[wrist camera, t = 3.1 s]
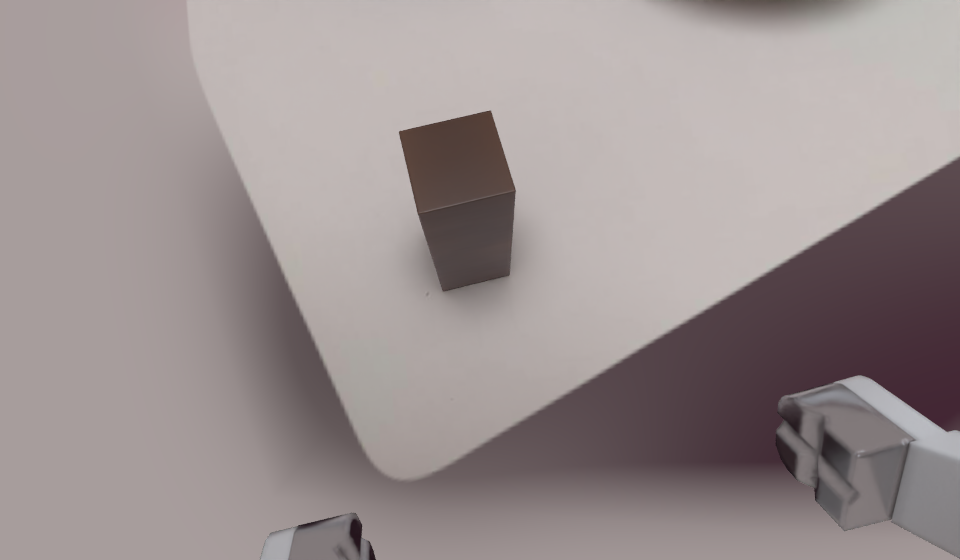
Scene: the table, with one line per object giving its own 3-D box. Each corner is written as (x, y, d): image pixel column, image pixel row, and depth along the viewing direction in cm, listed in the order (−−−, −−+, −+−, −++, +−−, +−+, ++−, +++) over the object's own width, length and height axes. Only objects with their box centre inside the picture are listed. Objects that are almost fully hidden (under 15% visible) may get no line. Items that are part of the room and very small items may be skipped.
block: (443, 291, 30) (418, 214, 20) (428, 230, 31) (398, 131, 21) (509, 275, 30) (516, 191, 20) (492, 215, 31) (490, 109, 22)
